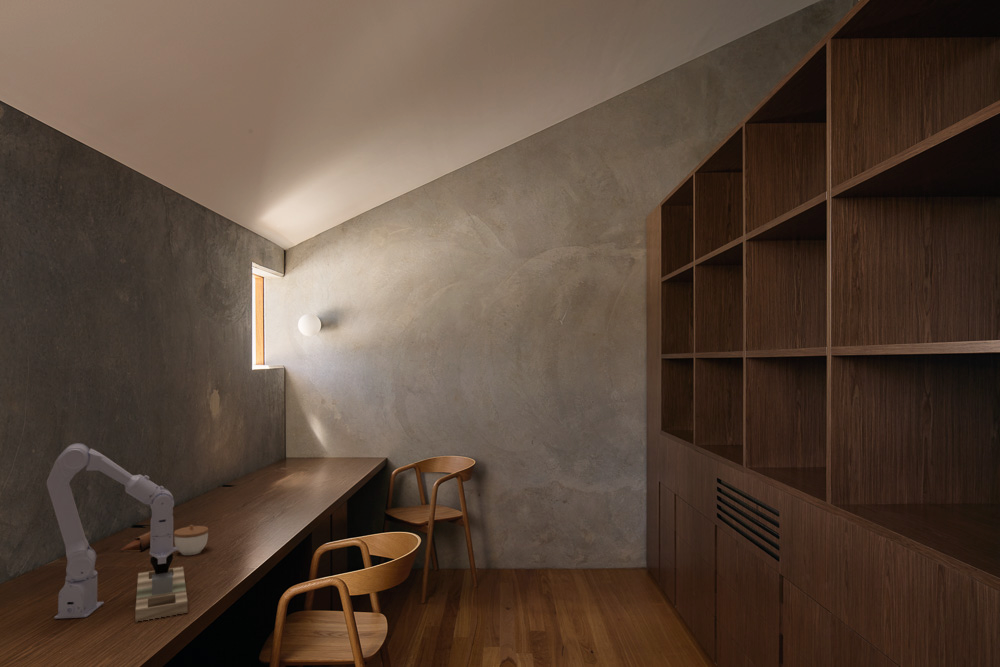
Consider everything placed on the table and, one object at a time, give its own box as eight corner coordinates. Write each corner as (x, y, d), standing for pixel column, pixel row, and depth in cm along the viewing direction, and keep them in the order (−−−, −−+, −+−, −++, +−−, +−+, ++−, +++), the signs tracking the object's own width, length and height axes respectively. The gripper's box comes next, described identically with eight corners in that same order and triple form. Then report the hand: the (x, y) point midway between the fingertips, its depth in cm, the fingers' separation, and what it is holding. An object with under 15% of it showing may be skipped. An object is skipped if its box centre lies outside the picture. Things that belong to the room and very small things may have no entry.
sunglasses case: (145, 536, 241) (154, 521, 241) (161, 546, 241) (171, 530, 241) (117, 552, 223) (127, 535, 223) (135, 562, 223) (145, 545, 223)
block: (172, 591, 178) (172, 577, 178) (151, 595, 176) (152, 580, 176) (172, 586, 183) (172, 571, 183) (151, 589, 180) (152, 574, 180)
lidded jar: (213, 547, 228) (213, 520, 228) (200, 557, 217) (200, 529, 218) (182, 548, 228) (182, 521, 228) (167, 557, 217) (168, 529, 217)
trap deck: (187, 613, 171) (187, 602, 171) (135, 622, 165) (135, 610, 165) (182, 576, 199) (182, 566, 199) (138, 582, 194) (138, 572, 194)
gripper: (178, 538, 179) (178, 588, 178) (176, 525, 191) (176, 572, 191) (149, 542, 175) (149, 592, 175) (149, 529, 188) (149, 576, 188)
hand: (161, 582), depth 183 cm, fingers closed
